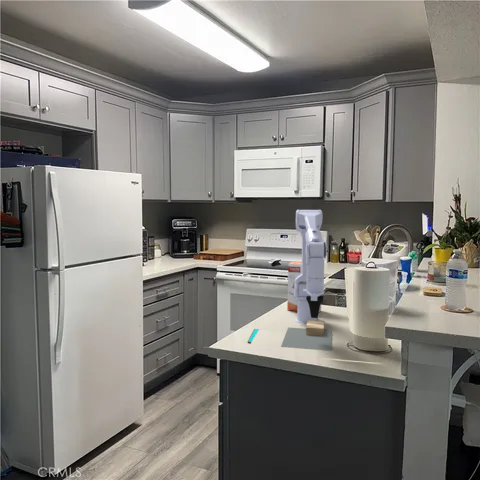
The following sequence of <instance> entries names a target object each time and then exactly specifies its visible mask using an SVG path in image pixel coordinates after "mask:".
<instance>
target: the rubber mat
mask: <svg viewBox="0 0 480 480" xmlns="http://www.w3.org/2000/svg"><path fill="white" fill-rule="evenodd" d="M280 347H281V348H291V349H292V348H293V349H304V350H305V349H306V350H317V351H330V352H332V351H333V330H331V329H324V335H323V336H320V335H306V328H303V327H302V328H301V327H287V330H286V332H285V335H284V338H283V341H282V343H281V345H280Z"/></svg>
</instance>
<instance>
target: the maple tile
mask: <svg viewBox="0 0 480 480" xmlns="http://www.w3.org/2000/svg"><path fill="white" fill-rule="evenodd" d="M305 329H306V335H320V336H323V335H324V330H325V320H317V321H316V320H308V321H307V323H306V326H305Z"/></svg>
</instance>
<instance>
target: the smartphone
mask: <svg viewBox="0 0 480 480" xmlns="http://www.w3.org/2000/svg"><path fill="white" fill-rule="evenodd" d="M259 331H260V329H259V328H254V329H253V331H252V332H251V334H250V336H249V338H248V340H247V344H252V342H253V340H254V338H255V337H256V335H257V334H258V332H259Z"/></svg>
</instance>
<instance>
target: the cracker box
mask: <svg viewBox="0 0 480 480" xmlns="http://www.w3.org/2000/svg"><path fill="white" fill-rule="evenodd" d="M287 265H288V267H287V268H288V269H287V304H286V305H287V311H295V312H298V298H296V297H295V296H294V284H295V279H296V277H298V276H299V275H301V274H302V262H298V261H297V262H296V261H290V262H289V263H287ZM300 282H307V281H300ZM321 311H322V304H321V305H320V309H319V313H320V312H321Z"/></svg>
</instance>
